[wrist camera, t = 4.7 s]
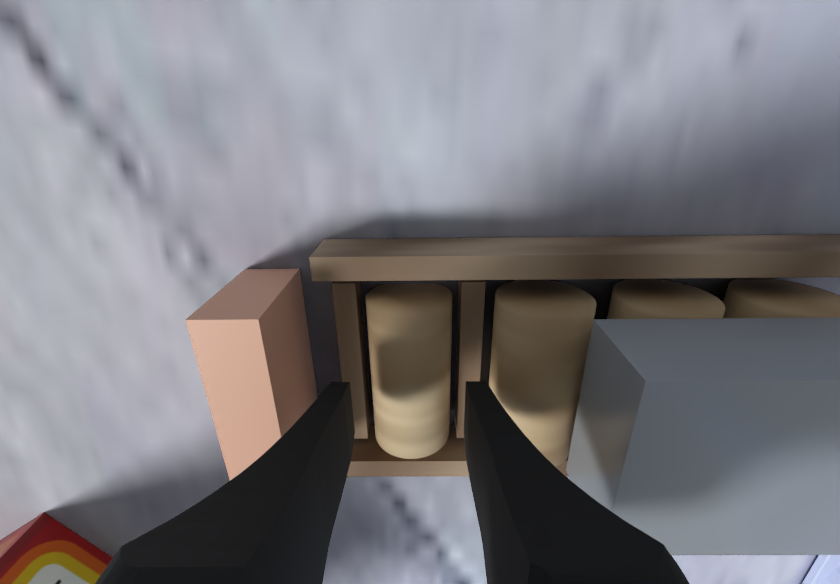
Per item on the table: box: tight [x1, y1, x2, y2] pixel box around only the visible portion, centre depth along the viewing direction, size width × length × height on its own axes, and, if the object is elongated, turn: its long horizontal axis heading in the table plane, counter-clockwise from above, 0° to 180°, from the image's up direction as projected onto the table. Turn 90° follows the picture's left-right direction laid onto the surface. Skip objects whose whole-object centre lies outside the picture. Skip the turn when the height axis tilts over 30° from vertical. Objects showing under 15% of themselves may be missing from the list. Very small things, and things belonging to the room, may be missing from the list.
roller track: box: [309, 234, 840, 477], centre depth 14 cm, size 19×9×3 cm, turn 91°
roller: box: [366, 284, 452, 459], centre depth 15 cm, size 6×3×3 cm, turn 1°
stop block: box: [186, 269, 318, 480], centre depth 14 cm, size 2×7×4 cm, turn 0°
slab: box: [566, 318, 840, 555], centre depth 12 cm, size 8×6×3 cm
